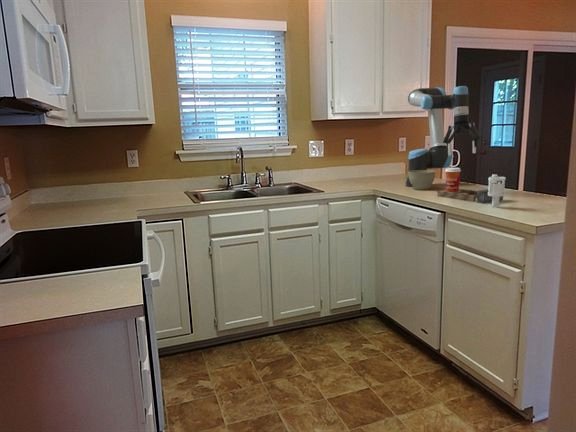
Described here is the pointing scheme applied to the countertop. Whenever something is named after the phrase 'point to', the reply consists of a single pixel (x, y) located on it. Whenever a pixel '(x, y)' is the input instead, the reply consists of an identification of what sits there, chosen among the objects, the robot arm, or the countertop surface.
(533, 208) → the countertop surface
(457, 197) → the guide channel
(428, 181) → the planter bowl
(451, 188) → the coffee cup
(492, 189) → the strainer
